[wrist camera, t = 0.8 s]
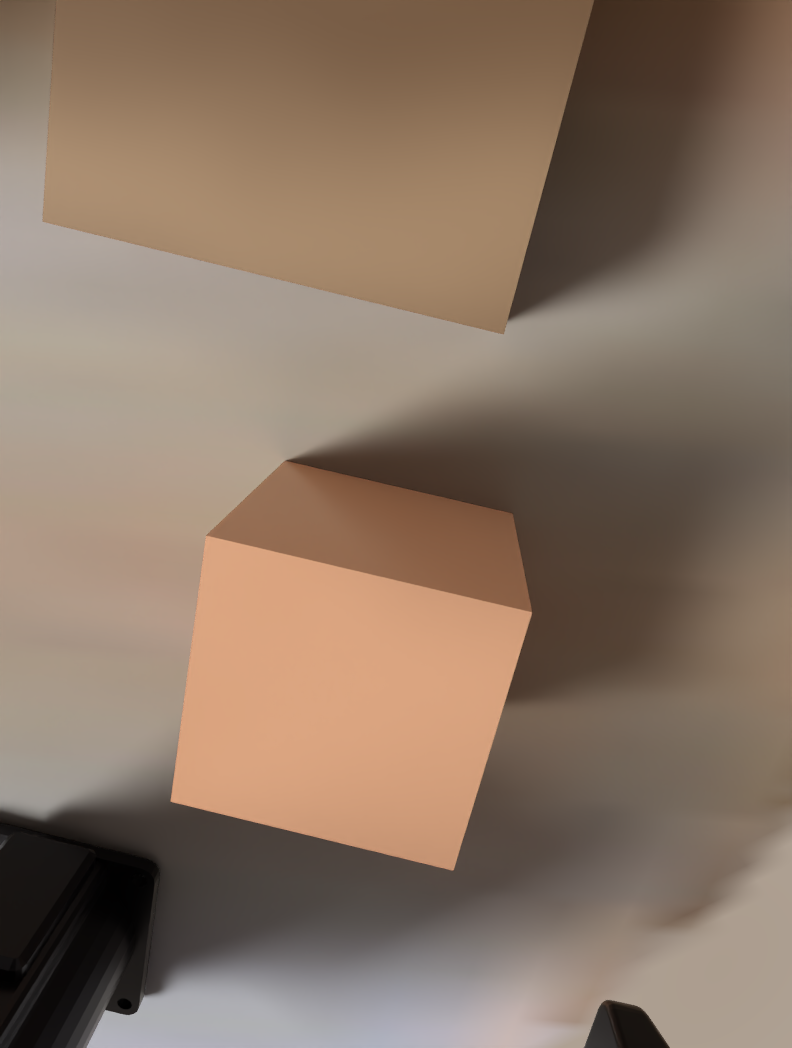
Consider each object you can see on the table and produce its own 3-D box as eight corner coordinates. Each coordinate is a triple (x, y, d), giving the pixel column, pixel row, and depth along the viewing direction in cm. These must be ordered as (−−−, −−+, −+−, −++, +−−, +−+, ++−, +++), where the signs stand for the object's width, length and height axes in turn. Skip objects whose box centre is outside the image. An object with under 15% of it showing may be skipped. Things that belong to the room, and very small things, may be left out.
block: (495, 323, 17) (504, 334, 14) (134, 235, 17) (42, 221, 14) (617, -131, 14) (670, -281, 11) (181, -232, 15) (81, -415, 11)
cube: (457, 708, 20) (453, 870, 15) (252, 659, 21) (170, 801, 15) (512, 512, 18) (532, 612, 13) (285, 459, 19) (206, 535, 13)
